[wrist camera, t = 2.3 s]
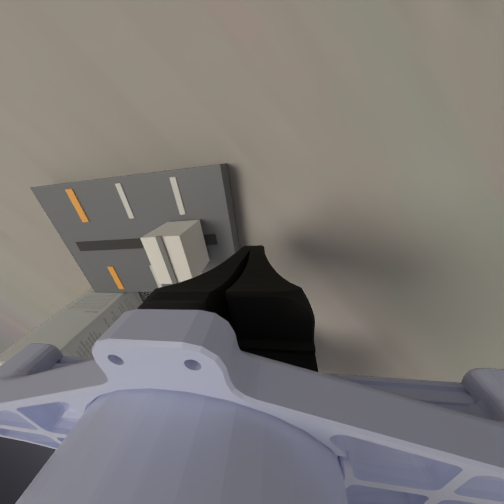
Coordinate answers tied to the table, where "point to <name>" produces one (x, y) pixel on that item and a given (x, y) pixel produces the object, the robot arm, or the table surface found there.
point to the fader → (176, 251)
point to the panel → (138, 221)
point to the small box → (79, 323)
